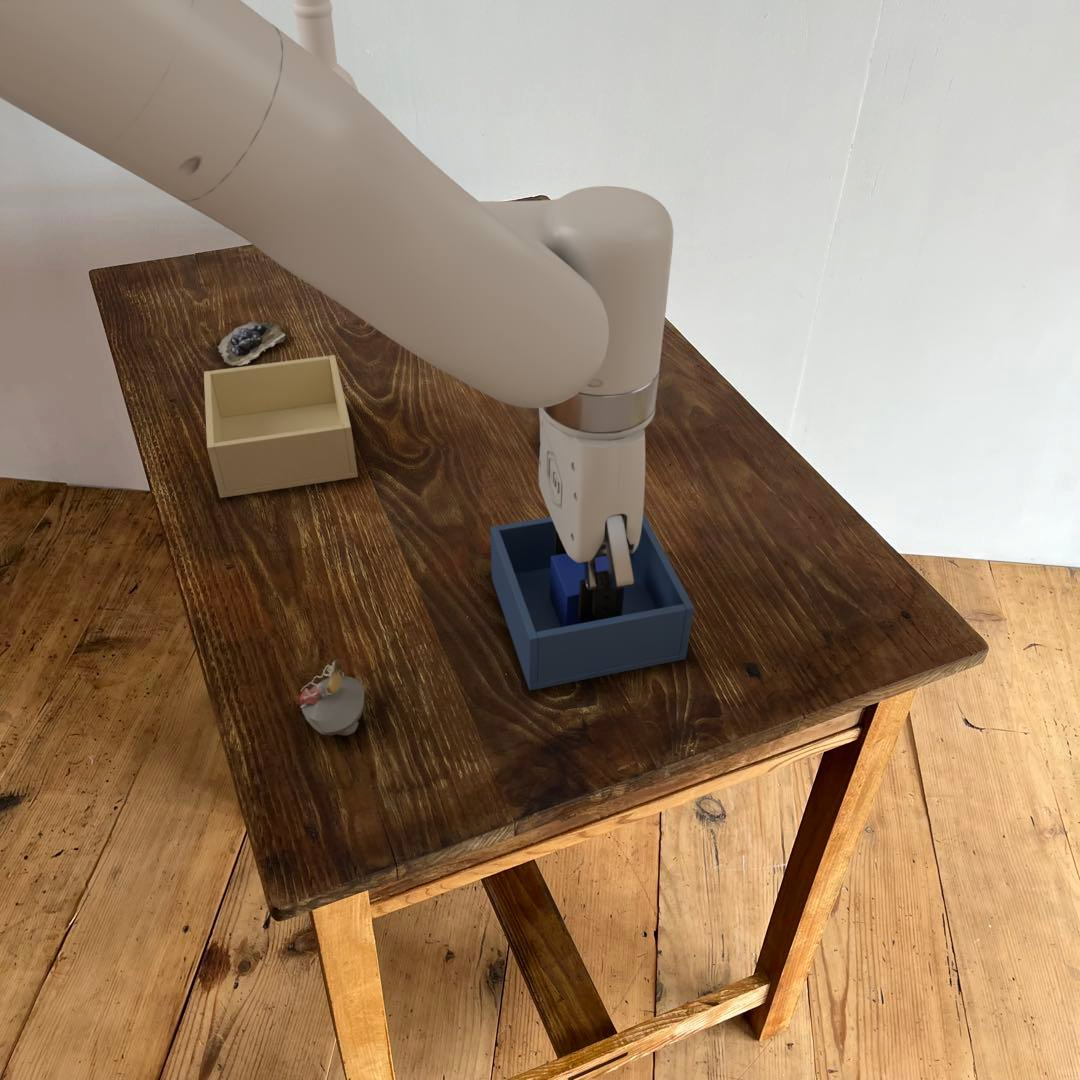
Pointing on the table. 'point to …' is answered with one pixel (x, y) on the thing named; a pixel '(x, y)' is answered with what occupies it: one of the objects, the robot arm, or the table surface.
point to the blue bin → (598, 646)
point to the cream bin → (278, 426)
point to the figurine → (333, 702)
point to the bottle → (319, 33)
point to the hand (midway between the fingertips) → (586, 585)
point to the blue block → (569, 586)
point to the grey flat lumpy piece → (249, 342)
